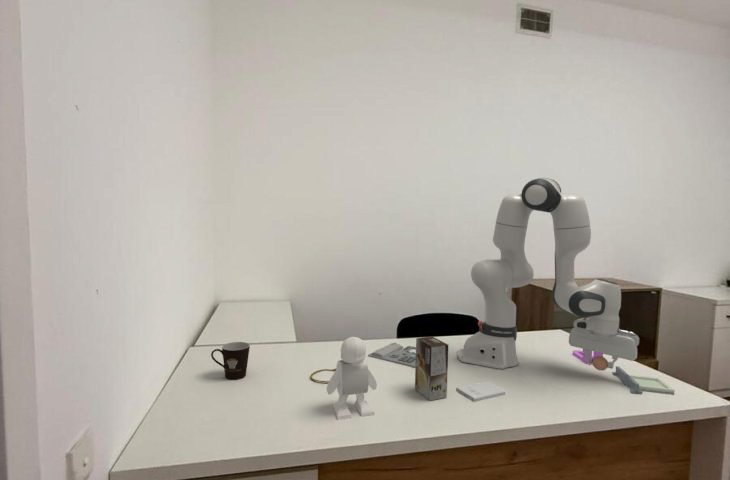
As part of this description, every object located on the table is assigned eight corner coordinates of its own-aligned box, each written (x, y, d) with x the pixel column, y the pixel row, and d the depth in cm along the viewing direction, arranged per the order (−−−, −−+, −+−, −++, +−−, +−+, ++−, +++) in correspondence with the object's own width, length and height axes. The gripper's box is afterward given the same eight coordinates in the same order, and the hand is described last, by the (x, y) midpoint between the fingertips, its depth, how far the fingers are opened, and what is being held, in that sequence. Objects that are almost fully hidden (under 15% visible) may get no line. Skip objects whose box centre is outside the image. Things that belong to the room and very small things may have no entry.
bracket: (602, 365, 145) (603, 347, 145) (587, 365, 145) (588, 346, 145) (583, 353, 158) (584, 337, 158) (569, 353, 158) (570, 336, 158)
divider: (631, 392, 121) (632, 383, 121) (612, 374, 136) (612, 365, 136) (642, 394, 120) (642, 384, 120) (621, 375, 136) (622, 366, 136)
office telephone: (367, 351, 147) (391, 339, 164) (367, 358, 148) (391, 345, 164) (423, 364, 135) (443, 349, 152) (422, 371, 135) (443, 355, 152)
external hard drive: (505, 396, 117) (474, 403, 112) (485, 385, 125) (455, 392, 119) (505, 390, 117) (474, 397, 112) (486, 380, 125) (456, 386, 119)
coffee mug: (254, 374, 127) (255, 344, 127) (236, 383, 119) (236, 352, 119) (228, 367, 132) (228, 339, 132) (208, 376, 124) (209, 346, 124)
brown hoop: (361, 381, 125) (361, 375, 125) (314, 387, 119) (314, 381, 119) (349, 368, 136) (350, 362, 136) (306, 372, 131) (306, 367, 131)
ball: (591, 370, 132) (593, 357, 132) (591, 366, 136) (592, 352, 136) (608, 373, 130) (609, 360, 129) (607, 369, 134) (608, 355, 134)
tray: (638, 390, 123) (638, 386, 123) (625, 378, 133) (625, 374, 133) (674, 394, 121) (674, 390, 121) (658, 382, 130) (658, 378, 130)
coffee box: (447, 397, 114) (450, 344, 113) (429, 401, 111) (431, 346, 111) (430, 385, 122) (432, 335, 122) (413, 388, 120) (415, 337, 119)
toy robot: (330, 420, 99) (332, 344, 98) (323, 404, 107) (325, 334, 107) (381, 413, 103) (383, 340, 102) (370, 399, 112) (372, 331, 111)
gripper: (641, 331, 127) (637, 372, 128) (574, 318, 141) (571, 354, 142) (638, 335, 122) (634, 377, 123) (568, 321, 136) (565, 358, 137)
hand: (599, 365), depth 133 cm, fingers closed on ball, 5 cm apart
